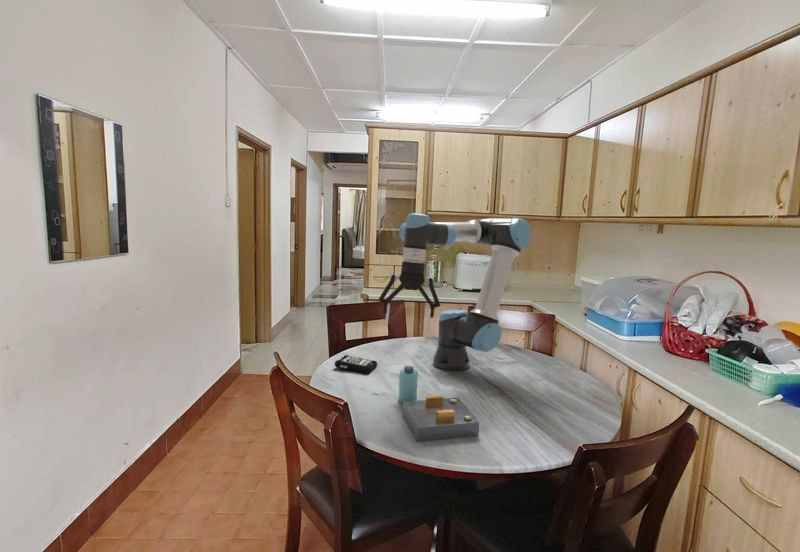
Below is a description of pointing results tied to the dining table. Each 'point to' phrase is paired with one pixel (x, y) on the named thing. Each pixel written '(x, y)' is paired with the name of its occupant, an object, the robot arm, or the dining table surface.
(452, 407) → the fixture block
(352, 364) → the phone
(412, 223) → the robot arm
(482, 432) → the dining table surface
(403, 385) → the pump
